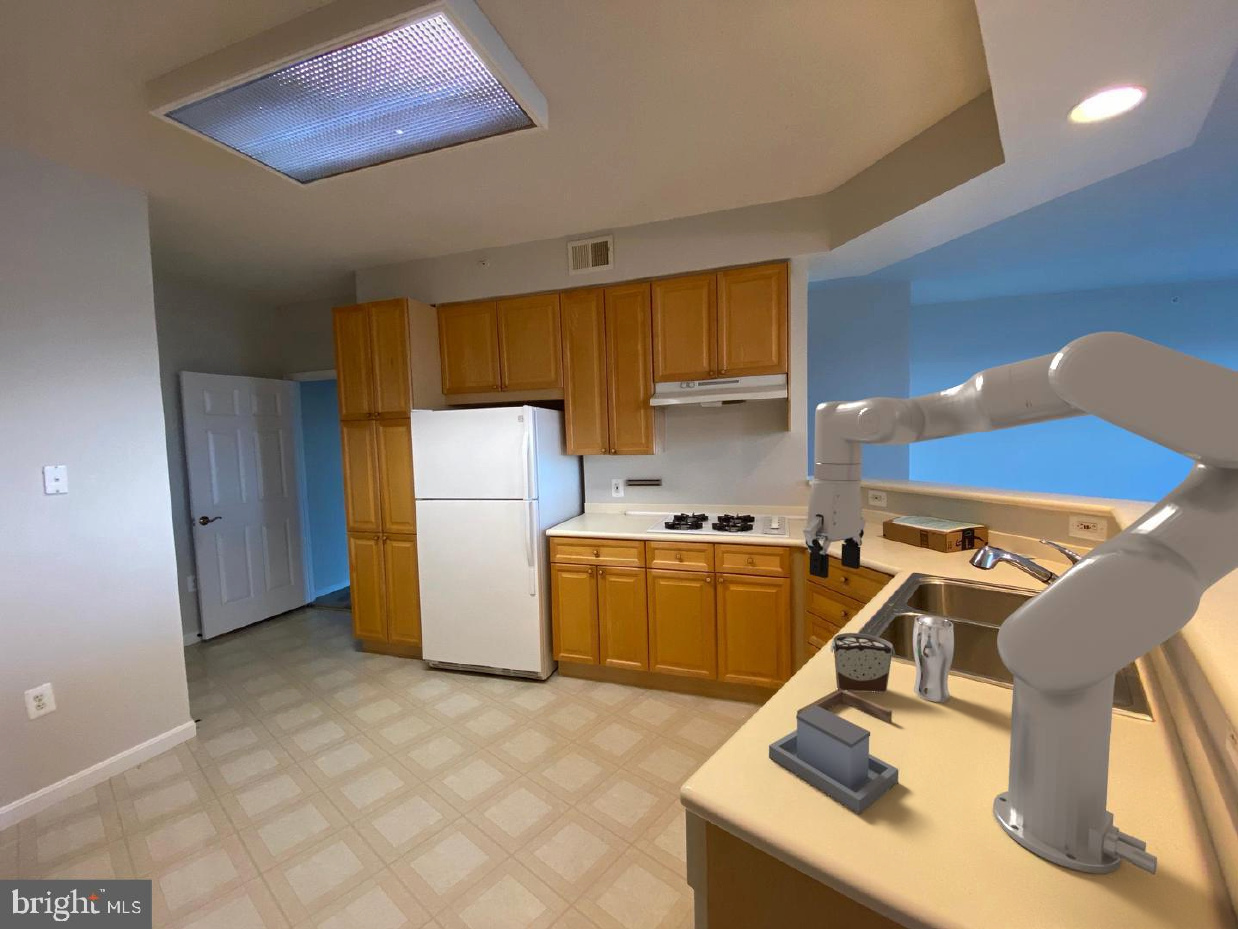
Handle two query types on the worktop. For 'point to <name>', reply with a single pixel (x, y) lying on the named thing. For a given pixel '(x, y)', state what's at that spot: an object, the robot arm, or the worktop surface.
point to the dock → (851, 700)
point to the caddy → (833, 746)
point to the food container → (862, 662)
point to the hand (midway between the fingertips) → (835, 571)
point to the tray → (855, 799)
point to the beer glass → (932, 657)
